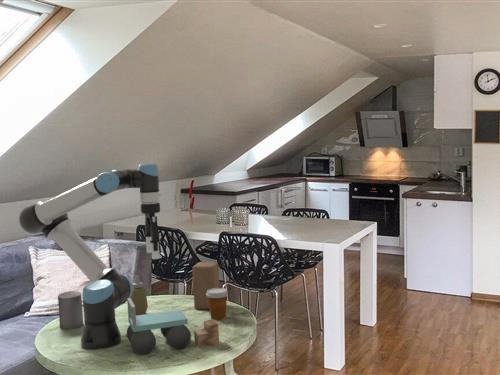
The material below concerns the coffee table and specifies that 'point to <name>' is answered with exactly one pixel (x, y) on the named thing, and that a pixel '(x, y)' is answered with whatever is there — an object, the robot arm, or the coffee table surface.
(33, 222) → the robot arm
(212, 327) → the block
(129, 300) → the trolley
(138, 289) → the squeeze bottle
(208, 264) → the block
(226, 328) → the coffee table surface
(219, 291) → the disposable coffee cup
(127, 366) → the coffee table surface
